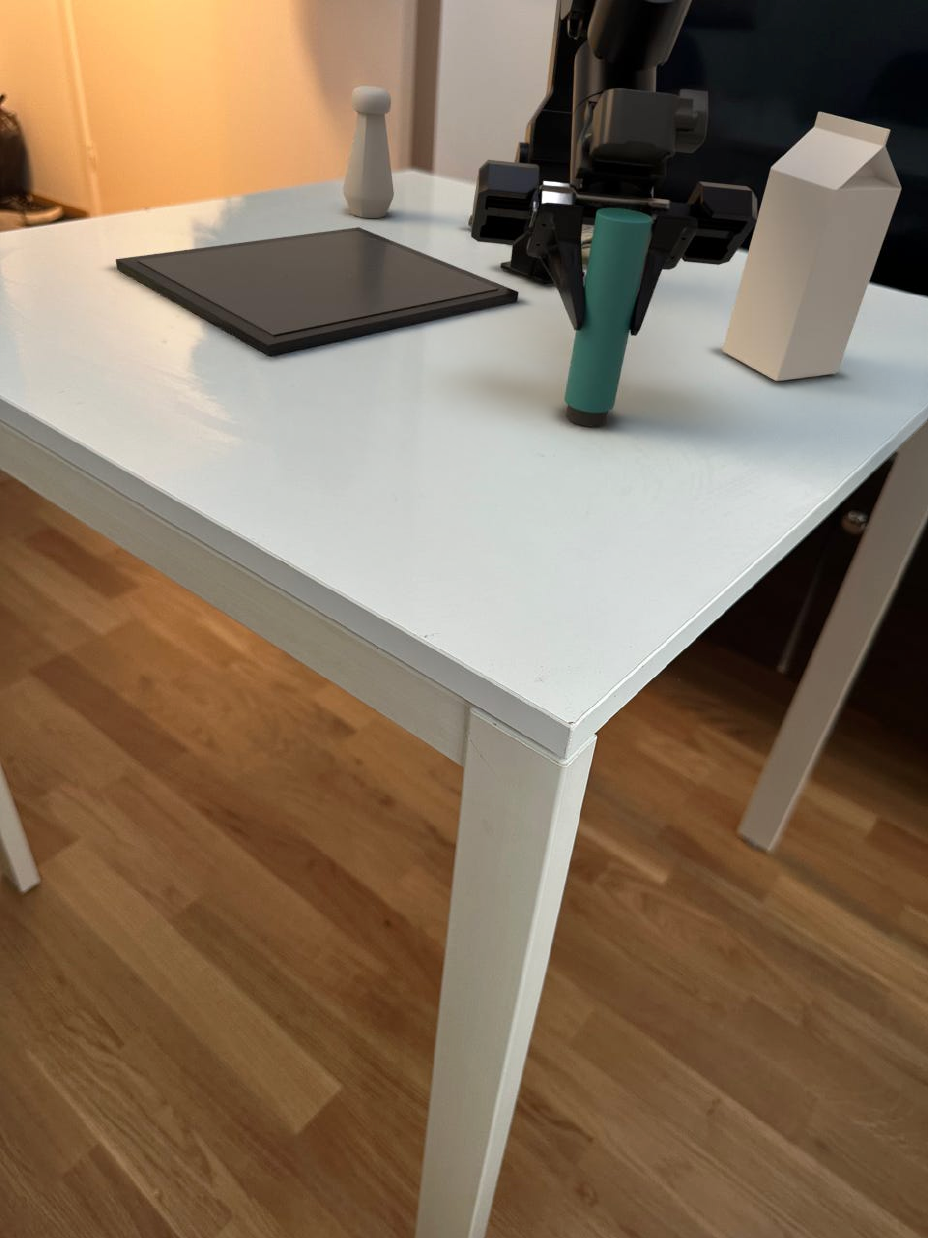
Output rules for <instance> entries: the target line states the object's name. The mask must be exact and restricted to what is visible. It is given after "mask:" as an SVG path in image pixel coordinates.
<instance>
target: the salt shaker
mask: <svg viewBox="0 0 928 1238" xmlns="http://www.w3.org/2000/svg"><path fill="white" fill-rule="evenodd" d="M350 99H351V101H350V102H351V108H352V109H353V110H354V111H355V112H356V113H357V114H356V119H355V124H354V131H353V136H352V141H351V145H350V146H351V147H350V151H349V157H348V161H347V162H348V163H347V166H346V172H345V177H344V183H343V187H342V192H343V195H344V196H343V197H344V198H345V201H346V203H347V207H348V210H349V213H350V215H352V216H356V217H359V218H362V219H363V218H364V219H380V218H383V217H385V216H386V215H387V213H388V210H389V209H390V206H391V204H392V201H393V200H394V195H395V191H394V181H393V175H392V166H391V165H392V164H391V157H390V148H389V140H388V131H387V121H386V114H388V113H390V112H391V107H392V99H391V94H390V92H388V90H386V89H384V88H381V87H378V86H371V85H361V86H356V87H355V88H354V89H353V90H352V93H351V98H350Z"/></svg>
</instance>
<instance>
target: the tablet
mask: <svg viewBox="0 0 928 1238" xmlns="http://www.w3.org/2000/svg"><path fill="white" fill-rule="evenodd" d="M115 267H116V270H117V271H119V272H121V273H123V274H125V275H126V276H128V277H130V278H132V279H134V280H135V281H137V282H138V283H140V284H142V285H144V286H146V287H148V288H149V289H151V290H152V291H154V292H156V293H158V294H159V295H161V296H163V297H165V298H167V299H169V300H170V301H172V302H174V303H175V304H177V305H179V306H181V307H182V308H184V309H186V310H188V311H190V312H191V313H193V314H195V315H196V316H199V317H200V318H201V319H203V320H205V321H207V322H209V323H211V324H212V325H214V326H216V327H218V328H219V329H221V330H222V331H224V332H226V333H228V334H230V335H232V336H233V337H235V338H237V339H238V340H240V341H242V342H244V343H245V344H248V345H249V346H251V347H252V348H253V349H254V348H255V349H256V350H257V351H260V352H262V354H265V355H267V356H269V357H272V356H276V355H281V354H285V353H289V352H295V351H299V350H304V349H308V348H312V347H317V346H321V345H322V346H323V345H325V344H330V343H336V342H339V341H340V342H341V341H344V340H348V339H349V340H350V339H353V338H357V337H362V336H367V335H371V334H376V333H380V332H384V331H390V330H393V329H398V328H402V327H407V326H411V325H416V324H420V323H425V322H430V321H434V320H438V319H439V320H440V319H443V318H449V317H452V316H456V315H461V314H465V313H466V314H467V313H470V312H474V311H475V312H476V311H479V310H484V309H488V308H493V307H497V306H502V305H507V304H510V303H515V302H518V301H519V293H520V292H519V291H518V290H516V289H513V288H510V287H508V286H505V285H503V284H500V283H498V282H495V281H493V280H490V279H488V278H485V277H483V276H480V275H478V274H475V273H473V272H471V271H468V270H466V269H463V268H461V267H458V266H456V265H453V264H451V263H448V262H446V261H444V260H441V259H438V258H436V257H434V256H431V255H428V254H426V253H423V252H421V251H419V250H416V249H413V248H411V247H408V246H406V245H403V244H401V243H399V242H397V241H394V240H391V239H388V238H386V237H384V236H381V235H379V234H376V233H375V232H372V231H369V230H366V229H364V228H361V227H359V226H357V227H350V228H349V227H348V228H343V229H335V230H328V231H320V232H312V233H303V234H297V235H290V236H289V235H288V236H281V237H274V238H267V239H259V240H251V241H243V242H235V243H228V244H221V245H212V246H206V247H198V248H197V247H196V248H191V249H189V248H188V249H183V250H175V251H167V252H160V253H152V254H144V255H137V256H130V257H121V258H116V259H115Z"/></svg>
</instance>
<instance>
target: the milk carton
mask: <svg viewBox="0 0 928 1238" xmlns="http://www.w3.org/2000/svg"><path fill="white" fill-rule="evenodd" d="M890 133H891V129H889V128H886V127H881V126H877V125H873V124H870V123H865V122H861V121H857V120H854V119H850V118H847V117H843V116H838V115H834V114H831V113H826V112H823V111H818V112H817V115H816V118H815V122H814V125H813V127H812V128H811V129H810V130H809V131H808V132H807V133H806V134H805V135H804V136H802V138H800V140H798V141H797V142H796V143H795V144H794V145H793V146H792V147H791V148H790V149H789V150H788V151H787V152H786V153H785V154H784V155H782V157H780V158H779V159H778V160H777V161H776V162H775V163H773V164H772V166H771V167H770V170H769V173H768V178H767V182H766V185H765V189H764V191H763V192H764V193H763V196H762V200H761V204H760V207H759V210H758V214H757V223H756V224H755V225H754V228H753V229H754V230H753V234H752V238H751V241H750V243H749V249H748V252H747V256H746V260H745V263H744V267H743V271H742V274H741V278H740V281H739V286H738V290H737V293H736V296H735V300H734V303H733V309H732V311H731V314H730V318H729V323H728V327H727V330H726V333H725V337H724V341H723V345H722V349H721V350H722V352H723V353H725V354H726V355H728V356H730V357H731V358H733V359H735V360H737V361H739V362H741V363H743V364H744V365H747V366H748V367H750V368H751V369H754V370H755V371H757V372H759V373H761V374H763V375H764V376H765V377H768V378H770V380H771V379H772V380H773V381H775V382H780V381H787V380H789V381H790V380H796V379H805V378H811V377H820V376H827V375H834V374H837V373H838V371H839V368H840V365H841V363H842V360H843V358H844V354H845V351H846V349H847V346H848V343H849V340H850V337H851V334H852V332H853V329H854V326H855V323H856V320H857V317H858V314H859V311H860V309H861V306H862V304H863V300H864V298H865V296H866V295H865V294H866V291H867V289H868V286H869V283H870V280H871V277H872V275H873V272H874V270H875V269H874V268H875V266H876V264H877V260H878V257H879V255H880V251H881V249H882V245H883V243H884V240H885V238H886V235H887V232H888V229H889V226H890V223H891V220H892V217H893V215H894V212H895V209H896V207H897V203H898V200H899V197H900V195H901V191H902V185H901V183H900V180H899V178H898V175H897V172H896V170H895V167H894V165H893V162H892V160H891V157H890V154H889V151H888V150H887V149H888V148H887V147H886V145H887V142H888V139H889V136H890Z"/></svg>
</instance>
